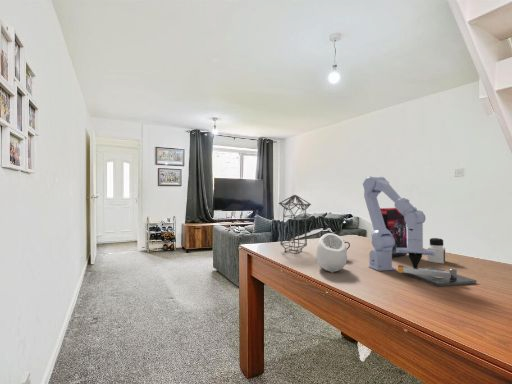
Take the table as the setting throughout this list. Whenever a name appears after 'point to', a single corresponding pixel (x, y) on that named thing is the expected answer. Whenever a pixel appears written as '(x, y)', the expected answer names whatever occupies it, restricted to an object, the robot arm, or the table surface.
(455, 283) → the panel
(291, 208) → the geometric lantern
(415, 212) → the robot arm
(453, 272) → the cable arm
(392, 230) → the graphics card box
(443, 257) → the medicine bottle
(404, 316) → the table surface
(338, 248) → the skull planter
